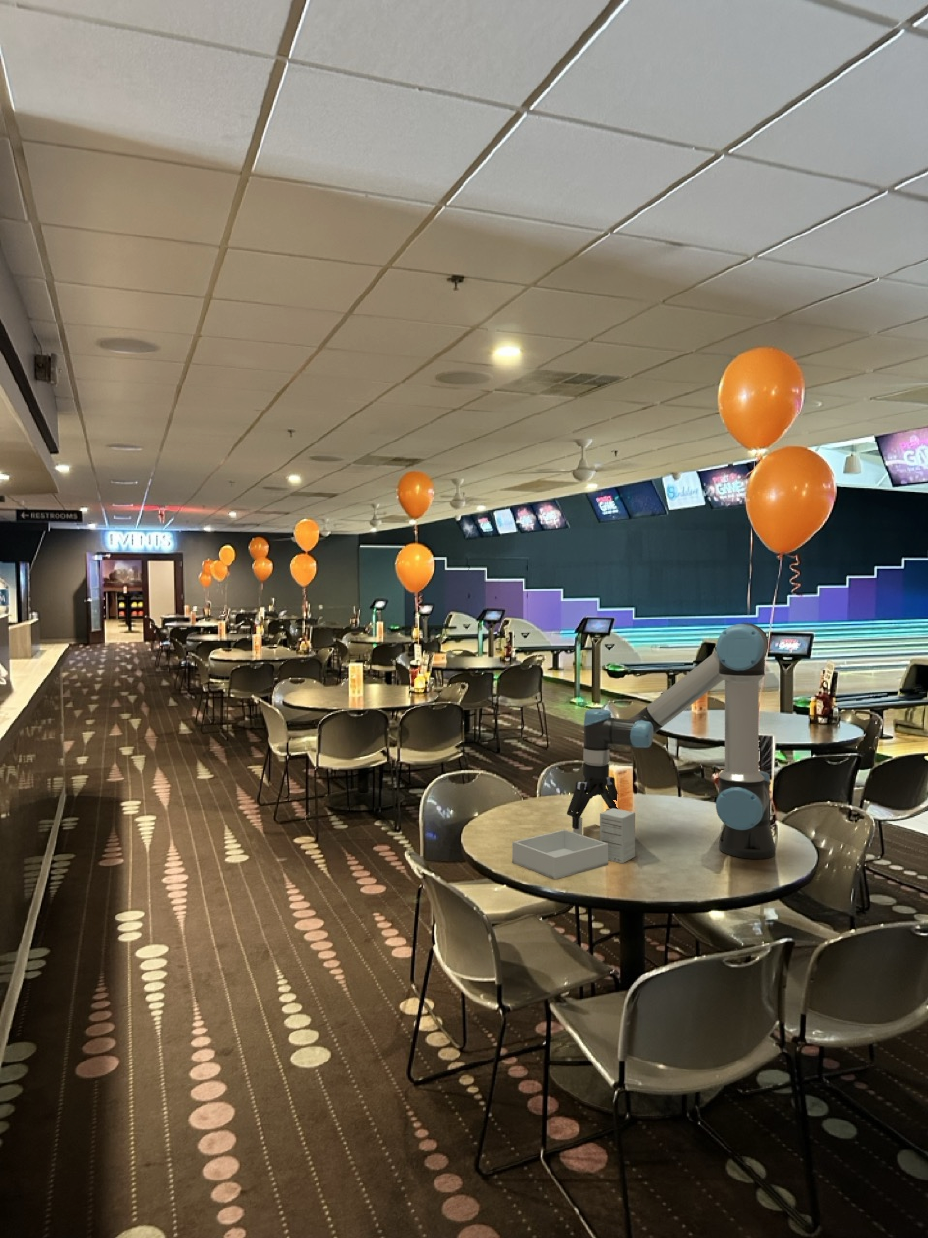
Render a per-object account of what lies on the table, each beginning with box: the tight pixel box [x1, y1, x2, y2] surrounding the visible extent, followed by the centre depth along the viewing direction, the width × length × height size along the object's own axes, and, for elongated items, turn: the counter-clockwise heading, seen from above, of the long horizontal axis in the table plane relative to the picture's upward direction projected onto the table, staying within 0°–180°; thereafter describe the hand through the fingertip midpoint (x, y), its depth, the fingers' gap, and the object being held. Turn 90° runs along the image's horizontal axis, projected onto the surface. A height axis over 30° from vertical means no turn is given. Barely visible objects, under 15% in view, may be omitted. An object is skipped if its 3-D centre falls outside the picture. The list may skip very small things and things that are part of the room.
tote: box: [511, 829, 609, 880], centre depth 223 cm, size 17×20×6 cm
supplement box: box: [599, 808, 636, 864], centre depth 228 cm, size 7×7×13 cm
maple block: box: [582, 824, 600, 841], centre depth 240 cm, size 5×5×5 cm
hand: (594, 835), depth 240 cm, fingers open, 13 cm apart
